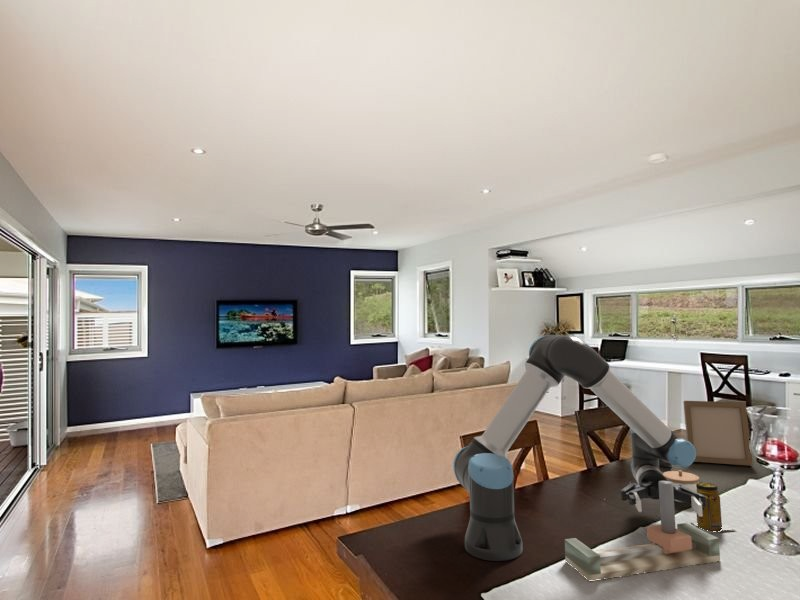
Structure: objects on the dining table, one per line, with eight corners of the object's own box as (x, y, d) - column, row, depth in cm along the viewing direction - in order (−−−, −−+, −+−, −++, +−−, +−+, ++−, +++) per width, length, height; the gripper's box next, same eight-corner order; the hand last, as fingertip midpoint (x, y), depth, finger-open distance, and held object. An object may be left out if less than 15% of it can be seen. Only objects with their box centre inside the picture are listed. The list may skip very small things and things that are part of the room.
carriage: (671, 557, 118) (667, 488, 119) (647, 543, 126) (644, 479, 127) (692, 553, 119) (688, 486, 120) (667, 540, 127) (664, 476, 128)
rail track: (589, 582, 112) (588, 557, 112) (565, 562, 122) (564, 539, 122) (720, 561, 120) (718, 538, 120) (687, 544, 130) (686, 522, 130)
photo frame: (753, 468, 194) (749, 404, 195) (690, 463, 202) (686, 402, 204) (744, 458, 207) (740, 399, 209) (685, 454, 216) (681, 397, 217)
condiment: (690, 523, 143) (687, 481, 144) (717, 521, 144) (714, 479, 144) (708, 533, 136) (705, 489, 136) (736, 531, 136) (733, 487, 137)
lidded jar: (691, 507, 155) (690, 477, 155) (657, 498, 163) (655, 470, 164) (706, 500, 161) (704, 471, 161) (672, 491, 170) (671, 464, 170)
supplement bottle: (672, 464, 201) (670, 435, 202) (671, 469, 195) (669, 438, 196) (653, 462, 205) (652, 433, 205) (652, 467, 199) (650, 437, 200)
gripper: (701, 498, 139) (728, 528, 118) (606, 492, 146) (616, 519, 125) (700, 471, 139) (726, 496, 119) (605, 466, 146) (614, 489, 126)
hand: (669, 508), depth 122 cm, fingers open, 13 cm apart
